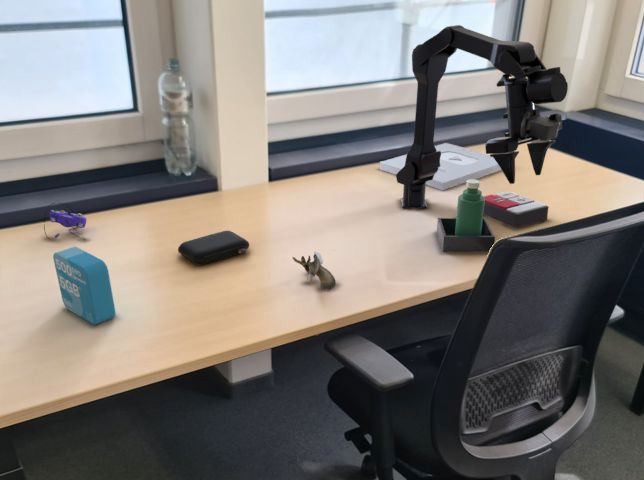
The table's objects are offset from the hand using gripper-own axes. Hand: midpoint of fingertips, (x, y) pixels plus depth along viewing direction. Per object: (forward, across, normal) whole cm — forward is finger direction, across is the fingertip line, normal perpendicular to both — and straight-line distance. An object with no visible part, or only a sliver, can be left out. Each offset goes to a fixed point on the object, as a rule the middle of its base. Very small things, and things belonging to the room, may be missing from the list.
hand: (525, 179), depth 168 cm
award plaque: (+2, +28, +52) cm, 59 cm away
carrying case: (+5, -57, +43) cm, 72 cm away
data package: (+7, -91, +35) cm, 98 cm away
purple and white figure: (-3, -78, +73) cm, 107 cm away
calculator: (+12, +13, +16) cm, 24 cm away
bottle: (+13, -9, +11) cm, 19 cm away
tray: (+13, -9, +12) cm, 20 cm away
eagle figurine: (+12, -49, +18) cm, 53 cm away
